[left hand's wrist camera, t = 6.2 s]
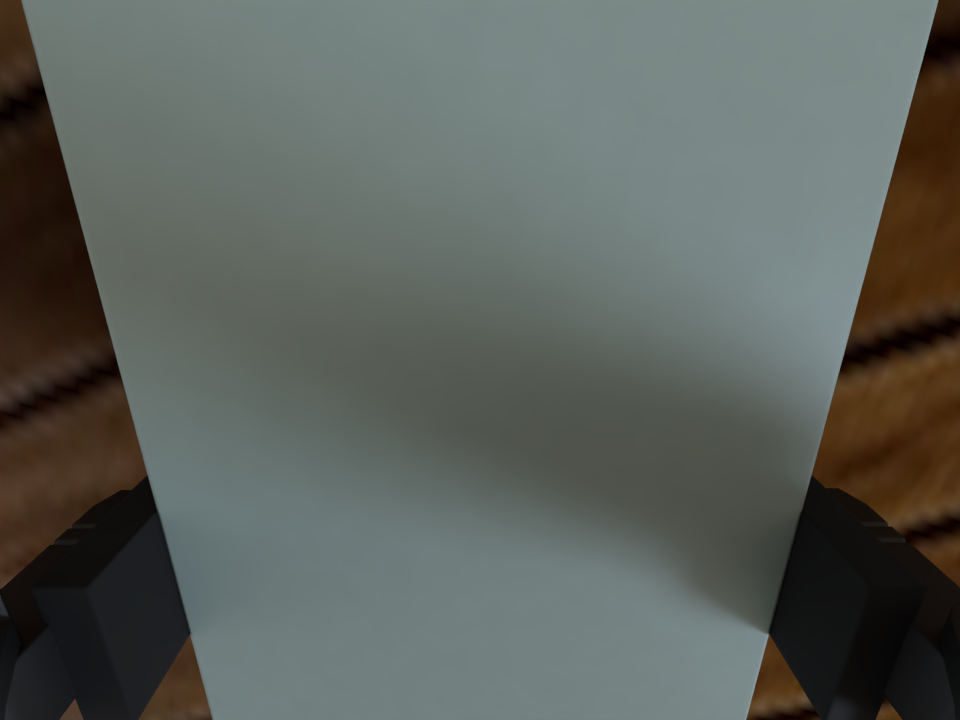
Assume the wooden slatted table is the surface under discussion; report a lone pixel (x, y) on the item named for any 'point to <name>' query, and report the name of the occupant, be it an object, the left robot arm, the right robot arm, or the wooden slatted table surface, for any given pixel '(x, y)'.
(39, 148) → the wooden slatted table surface
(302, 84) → the cabinet
